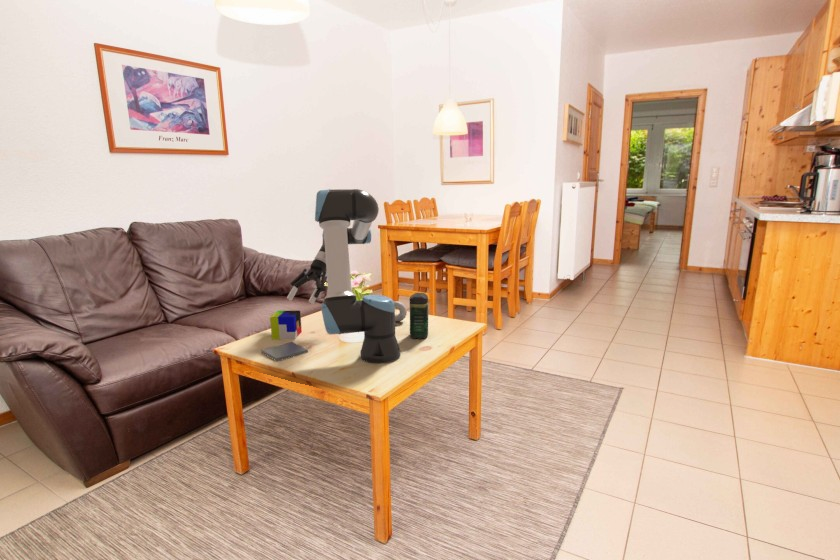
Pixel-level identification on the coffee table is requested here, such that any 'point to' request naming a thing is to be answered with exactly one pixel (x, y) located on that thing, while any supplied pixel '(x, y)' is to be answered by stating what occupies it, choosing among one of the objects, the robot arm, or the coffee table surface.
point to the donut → (402, 311)
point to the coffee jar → (419, 315)
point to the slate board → (284, 351)
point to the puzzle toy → (285, 324)
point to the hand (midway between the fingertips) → (299, 301)
